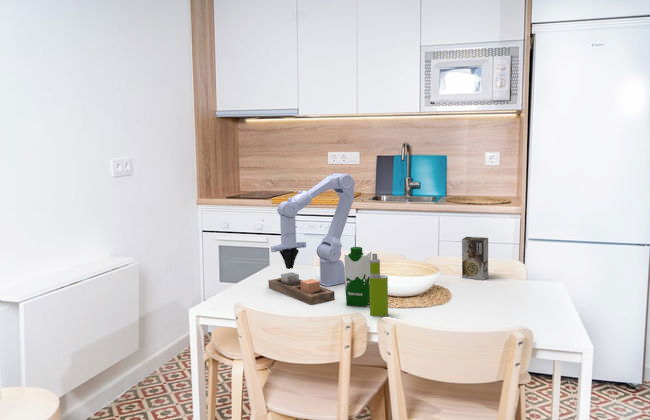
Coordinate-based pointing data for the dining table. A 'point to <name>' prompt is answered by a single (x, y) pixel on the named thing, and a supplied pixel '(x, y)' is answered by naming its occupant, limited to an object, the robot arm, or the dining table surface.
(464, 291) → the dining table surface
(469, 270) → the coffee box
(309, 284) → the salmon pink cube
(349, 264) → the milk carton
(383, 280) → the vape
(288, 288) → the brown ladder-shaped frame
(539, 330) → the dining table surface
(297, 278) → the silver metal block
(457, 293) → the dining table surface
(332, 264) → the robot arm
